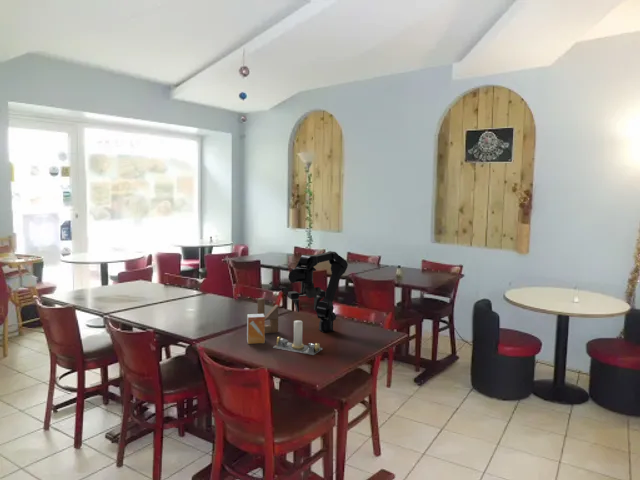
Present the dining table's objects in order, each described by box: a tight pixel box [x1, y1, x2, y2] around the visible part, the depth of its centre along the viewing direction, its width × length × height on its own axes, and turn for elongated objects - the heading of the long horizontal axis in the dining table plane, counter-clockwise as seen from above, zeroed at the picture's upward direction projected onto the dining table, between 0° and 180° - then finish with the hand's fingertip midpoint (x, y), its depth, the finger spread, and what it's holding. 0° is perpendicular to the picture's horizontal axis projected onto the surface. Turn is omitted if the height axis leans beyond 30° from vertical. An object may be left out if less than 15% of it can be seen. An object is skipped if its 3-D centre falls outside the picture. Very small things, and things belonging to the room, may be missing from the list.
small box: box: [246, 313, 266, 345], centre depth 226 cm, size 8×6×13 cm
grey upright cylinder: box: [292, 319, 305, 349], centre depth 217 cm, size 6×6×12 cm
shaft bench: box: [272, 336, 323, 356], centre depth 217 cm, size 21×9×4 cm, turn 64°
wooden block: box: [256, 297, 279, 334], centre depth 241 cm, size 4×11×18 cm, turn 113°
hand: (306, 311), depth 235 cm, fingers open, 9 cm apart
